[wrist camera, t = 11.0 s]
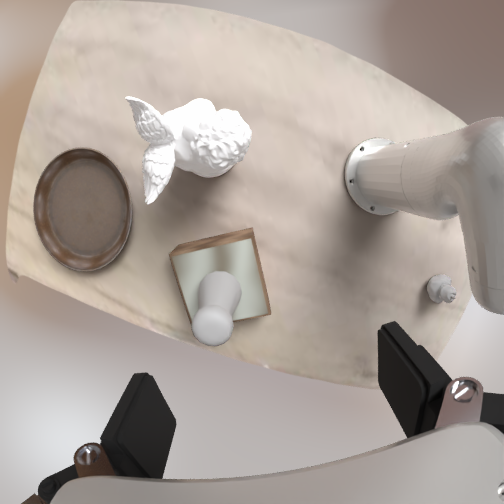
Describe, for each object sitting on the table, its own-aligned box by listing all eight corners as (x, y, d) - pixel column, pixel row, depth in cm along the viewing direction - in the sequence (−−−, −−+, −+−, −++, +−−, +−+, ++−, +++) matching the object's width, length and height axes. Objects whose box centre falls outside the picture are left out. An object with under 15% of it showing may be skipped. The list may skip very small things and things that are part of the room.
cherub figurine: (256, 145, 43) (270, 116, 21) (212, 213, 45) (186, 246, 24) (190, 105, 41) (148, 51, 19) (148, 173, 43) (74, 174, 22)
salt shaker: (194, 293, 41) (173, 339, 29) (211, 258, 40) (195, 295, 27) (230, 311, 42) (224, 363, 29) (249, 278, 41) (250, 321, 28)
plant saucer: (135, 275, 47) (128, 281, 44) (43, 257, 46) (33, 261, 43) (145, 151, 43) (138, 149, 39) (47, 148, 41) (37, 147, 38)
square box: (252, 227, 46) (253, 235, 39) (268, 298, 48) (271, 315, 42) (178, 244, 46) (168, 254, 40) (198, 312, 49) (192, 330, 43)
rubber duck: (430, 266, 48) (454, 280, 40) (451, 277, 48) (474, 291, 41) (417, 292, 49) (440, 309, 41) (439, 302, 50) (461, 318, 42)
